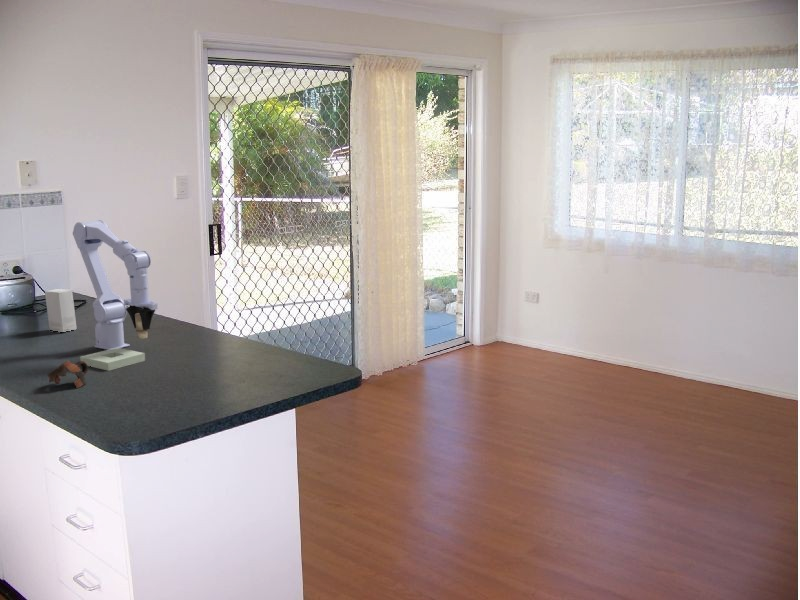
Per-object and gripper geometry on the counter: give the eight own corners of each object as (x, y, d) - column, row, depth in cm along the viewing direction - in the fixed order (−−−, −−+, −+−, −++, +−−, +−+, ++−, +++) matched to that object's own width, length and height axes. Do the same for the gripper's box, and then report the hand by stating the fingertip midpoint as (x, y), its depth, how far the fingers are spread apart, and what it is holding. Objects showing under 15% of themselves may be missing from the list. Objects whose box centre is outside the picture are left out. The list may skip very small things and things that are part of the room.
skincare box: (77, 330, 313) (73, 289, 310) (61, 333, 308) (58, 292, 305) (63, 327, 317) (59, 287, 315) (47, 331, 312) (44, 290, 309)
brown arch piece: (72, 393, 236) (55, 369, 235) (54, 402, 242) (37, 379, 240) (101, 372, 246) (85, 349, 245) (83, 381, 251) (67, 359, 250)
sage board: (80, 364, 265) (80, 356, 264) (117, 354, 276) (116, 347, 276) (108, 370, 257) (108, 362, 257) (145, 360, 269) (144, 353, 268)
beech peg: (134, 337, 276) (132, 314, 275) (143, 335, 280) (141, 312, 278) (141, 339, 274) (139, 315, 273) (151, 336, 277) (149, 313, 276)
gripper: (115, 288, 274) (118, 328, 277) (144, 292, 266) (146, 333, 269) (132, 284, 280) (135, 324, 283) (161, 289, 272) (163, 329, 275)
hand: (142, 328), depth 276 cm, fingers closed on beech peg, 4 cm apart
